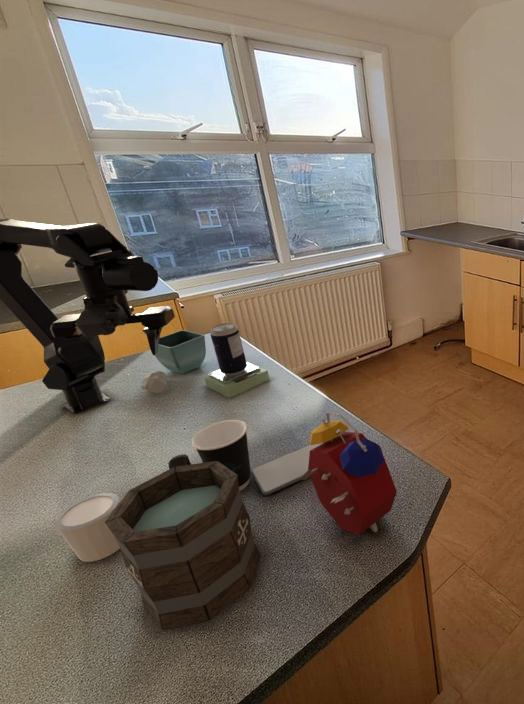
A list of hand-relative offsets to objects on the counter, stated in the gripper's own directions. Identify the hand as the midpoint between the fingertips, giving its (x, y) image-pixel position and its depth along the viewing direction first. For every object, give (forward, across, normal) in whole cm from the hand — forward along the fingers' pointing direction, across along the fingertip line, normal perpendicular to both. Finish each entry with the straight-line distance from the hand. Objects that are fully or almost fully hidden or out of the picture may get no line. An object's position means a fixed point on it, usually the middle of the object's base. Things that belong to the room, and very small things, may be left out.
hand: (129, 357), depth 92 cm
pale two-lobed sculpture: (+13, -2, +9) cm, 16 cm away
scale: (+13, +17, +6) cm, 22 cm away
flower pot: (+13, +2, +19) cm, 23 cm away
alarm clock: (+14, +43, -47) cm, 65 cm away
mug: (+14, +23, -49) cm, 55 cm away
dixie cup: (+14, +24, -32) cm, 42 cm away
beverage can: (+10, +16, +6) cm, 20 cm away
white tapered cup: (+13, +8, -40) cm, 43 cm away
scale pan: (+10, +16, +7) cm, 21 cm away
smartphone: (+13, +34, -31) cm, 48 cm away
